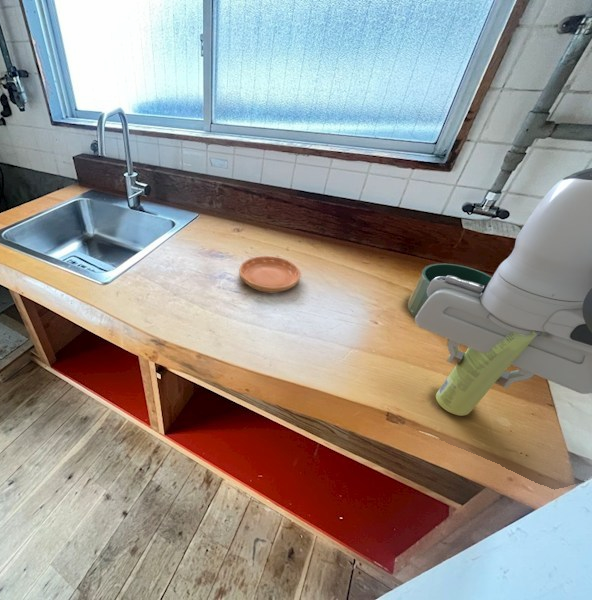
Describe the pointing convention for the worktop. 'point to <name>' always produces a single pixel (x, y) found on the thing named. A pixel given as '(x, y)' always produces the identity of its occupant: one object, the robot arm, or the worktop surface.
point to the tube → (479, 374)
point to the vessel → (438, 270)
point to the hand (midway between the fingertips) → (476, 372)
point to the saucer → (269, 273)
